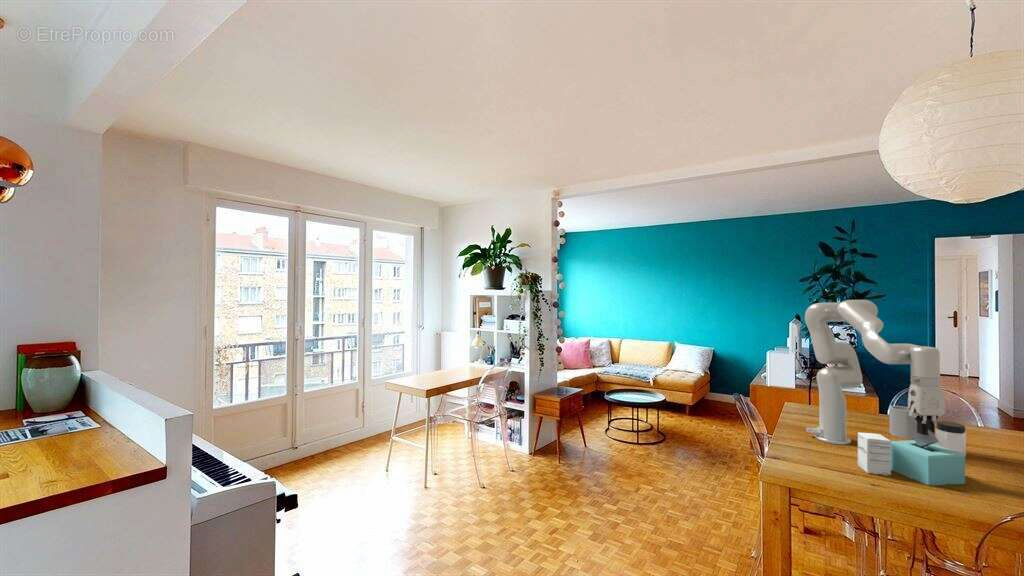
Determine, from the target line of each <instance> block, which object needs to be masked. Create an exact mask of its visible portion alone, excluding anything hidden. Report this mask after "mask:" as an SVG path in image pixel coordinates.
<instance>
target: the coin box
mask: <svg viewBox="0 0 1024 576" xmlns="http://www.w3.org/2000/svg"><path fill="white" fill-rule="evenodd" d="M890 441H891V471H893V470H894V471H893V472H895V471H896V473H897V472H899V473H898V474H900V473H901V474H900V475H902V474H904V475H906V476H905V477H907V476H908V477H907V478H909V477H911V478H910V479H912V478H913V479H912V480H914V479H915V480H914V481H916V480H918V481H917V482H919V481H920V482H919V483H921V482H922V483H921V484H923V483H925V484H924V485H926V484H927V485H926V486H928V485H931V486H948V484H950V485H964V484H966V456H965V454H963V453H960V452H957V451H954V450H951V449H948V448H945V447H942V446H939V445H936V443H934V444H931V445H928V446H926V447H918V445H917V443H916V442H915V440H914V439H913V440H912V439H910V440H890ZM904 475H903V476H904ZM946 484H947V485H946Z"/></svg>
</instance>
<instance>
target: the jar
mask: <svg viewBox="0 0 1024 576" xmlns="http://www.w3.org/2000/svg"><path fill="white" fill-rule="evenodd" d="M935 436H936V438H937V439H938V441H939V442H937V443H935V444H936V445H939V446H942V447H945V448H948V449H951V450H954V451H957V452H960V453H963V454H965V457H966V456H967V432H966V426H965V425H964V424H961V423H957V422H954V421H947V420H946V421H945V420H936V427H935Z"/></svg>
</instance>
